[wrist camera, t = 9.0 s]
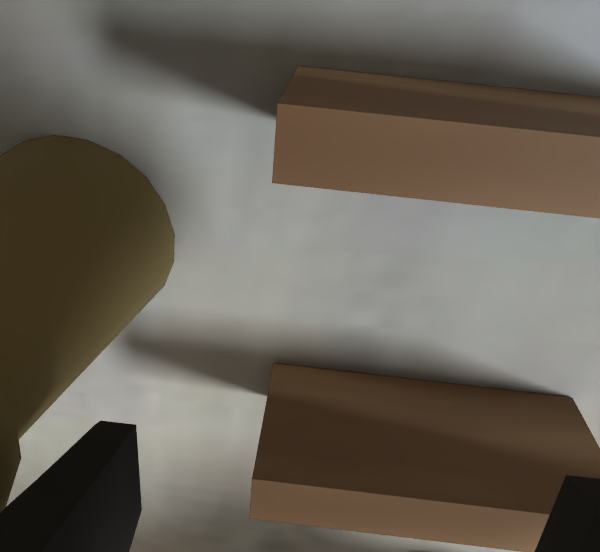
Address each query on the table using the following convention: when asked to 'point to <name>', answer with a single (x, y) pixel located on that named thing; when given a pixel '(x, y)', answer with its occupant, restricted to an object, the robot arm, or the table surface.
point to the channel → (417, 393)
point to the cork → (68, 271)
